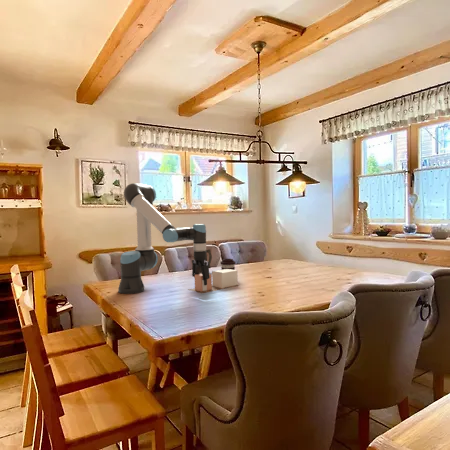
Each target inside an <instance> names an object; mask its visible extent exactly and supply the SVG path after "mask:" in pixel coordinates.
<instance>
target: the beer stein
mask: <svg viewBox="0 0 450 450" xmlns="http://www.w3.org/2000/svg"><path fill="white" fill-rule="evenodd" d="M194 251H195V250H194V249H193V252H194ZM205 251H207V253H208V255H207V256H206V257H205V259H206V261H207V262H209V269H211V268H212V267H211V262H212V259H213V257H212V252H211V249H210V248H209V249H206V250H205ZM193 260H195V257H194V256H193ZM202 267H203V266H202ZM199 274H202V272H201V268H200V271H199Z"/></svg>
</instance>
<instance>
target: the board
mask: <svg viewBox="0 0 450 450" xmlns="http://www.w3.org/2000/svg"><path fill="white" fill-rule="evenodd" d="M238 286H240V287H241V285H240V284H238V285H234V286H229V287H225V288H219V287H215V286H212V289H211V290H206V291H202V292H201V291H197V290H195V287H194V288H189V289H187V291H191V292H195V293H198V294H206V293H210V292H217V291H220V290H224V289H229V288H230V289H231V288H235V287H238Z"/></svg>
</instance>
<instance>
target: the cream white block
mask: <svg viewBox="0 0 450 450" xmlns="http://www.w3.org/2000/svg"><path fill="white" fill-rule="evenodd" d="M211 274H212V286H215V287H219V288H225V287H229V286H234V285H239V283H238V279H239V278H238V270H237V269H235V270H232V269H224V270H222V269H220V270H219V269H218V270H212V271H211Z"/></svg>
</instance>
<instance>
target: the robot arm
mask: <svg viewBox="0 0 450 450" xmlns="http://www.w3.org/2000/svg"><path fill="white" fill-rule="evenodd" d="M123 197H124V199H125V201H126V202H127V203H128V204H129V205H130V206H131V207H132V208H135V209H136V231H137V232H136V233H137V238H136V239H137V246H136V248H135V250H130V251H125V252H123V253H121V255H120V258H119V259H120V261H119V263H120V281H119V284H118V289H117V291H118V293H120V294H123V293H124V294H123V295H125V294H126V295H127V294H128V295H129V294H130V295H131V293H132V294H137V293H142V292H144V291H145V285H144V282H143V279H142V272H143V271H148V270H151V269H153V268H154V267H156V265H157V263H158V261H159V259H158V254H157V253H156V252H155V248H154V247H153V246H152V226H154V227H155V228H156V230H158V232H160V233H161V235H162V239H163V241H164V242H166V243H175V242H183V241H193V243H192V244H193V249H192V250H193V258H194V257H195V260H194V259H191V265H192V267H191V268H192V270H191V271H192V272H191V276H192V277H193V278H194V279H195V275H196V274H200V273H199V271H200V268H201V272H202V273H201V274H202V276H203V279H202V291H206V290H207V279H209V278H210V277H209V274H210V268H209V262H208V260H207V261H206V259H205V257H206V256H207V257H208V254H207V251H205V250H207V227H206V224H205V223H194V224H193V225H192V227H183V226H181V227H174V225H173V224H171V222H169V221H168V219H167V218H165V217H164V215H162V213H160V212H159V211H158V209H156V208H155V207H154V203H153V202H154V201H155V200H156V198H157V192H156V190H155V188H154V187H153V186H152V185H150V184H148V183H147V184H146V183H129V184H128V185H126V187H125V188H124V191H123ZM194 250H195V251H194ZM202 266H203V267H202Z"/></svg>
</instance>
